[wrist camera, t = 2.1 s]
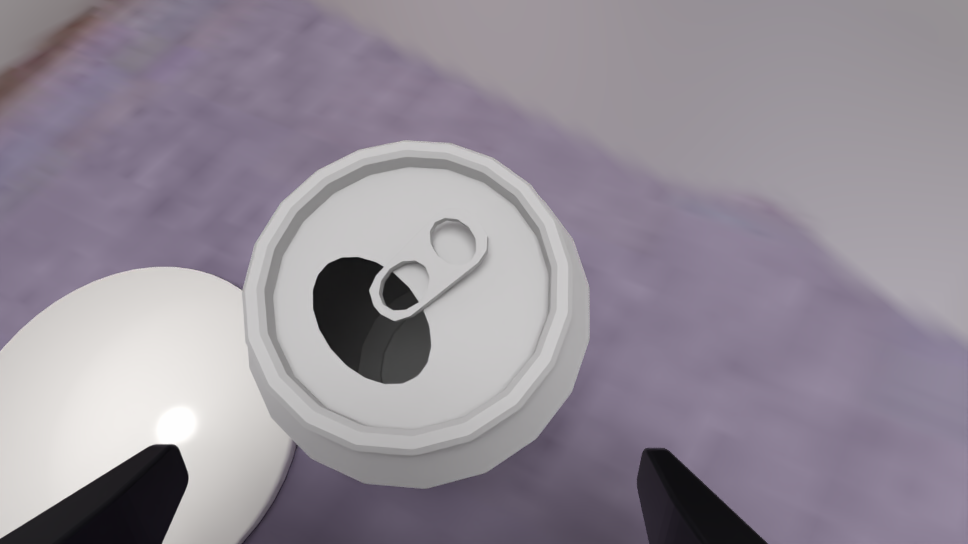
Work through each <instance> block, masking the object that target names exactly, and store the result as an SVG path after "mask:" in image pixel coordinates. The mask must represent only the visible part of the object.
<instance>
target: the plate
mask: <svg viewBox="0 0 968 544" xmlns="http://www.w3.org/2000/svg"><path fill="white" fill-rule="evenodd" d="M154 444H174V445H176V446H177V447H178V448H179V450H180V452H181V455H182V458H183V460H184V463H185V465H186V468H187V471H188V474H189V480H188V485H187V488H186V491H185V493H184V495H183V497H182V500H181V502H180V504H179V506H178V509H177V511H176V513H175V515H174V518H173V520H172V522H171V524H170V527H169V529H168V531H167V534H166V536H165V538H164V540H163V543H162V544H242V543H243V542H244V541H245V539H246V538H247V537H248V536H249V535H250V533H251V532H252V531H253V530H254V529H255V527H256V526H257V525H258V524H259V522H260V521H261V519H262V518H263V516H264V515H265V513H266V512H267V510H268V509H269V507H270V506H271V504H272V503H273V501H274V499H275V497H276V495H277V494H278V492H279V490H280V488H281V486H282V484H283V482H284V480H285V478H286V475H287V472H288V470H289V467H290V465H291V462H292V459H293V456H294V453H295V449H296V445H297V444H296V443H295V442H294V441H293V440H292V439H291V438H290V437H289V436H288V435H287V434H286V432H285V431H284V430H283V429H282V428H281V427H280V426H279V425H278V424H277V423H276V422H275V421H274V420H273V419H272V418H271V416H270V414H269V412H268V409H267V407H266V405H265V402H264V400H263V398H262V396H261V393H260V391H259V389H258V386H257V384H256V382H255V380H254V377H253V375H252V373H251V371H250V368H249V357H248V347H247V345H246V342H245V329H244V314H243V299H242V290H241V289H239V288H237V287H236V286H234V285H232V284H231V283H229V282H228V281H225V280H223V279H221V278H218V277H216V276H214V275H211V274H208V273H204V272H201V271H197V270H193V269H186V268H178V267H151V268H142V269H134V270H130V271H126V272H122V273H117V274H114V275H111V276H108V277H105V278H102V279H99V280H96V281H94V282H92V283H90V284H88V285H85V286H83V287H81V288H79V289H77V290H75V291H73V292H71V293H70V294H68V295H66V296H65V297H63V298H61V299H59V300H58V301H56V302H55V303H53V304H52V305H51V306H49V307H48V308H46V309H45V310H44V311H42V312H41V313H39V314H38V315H37V316H36V317H34V318H33V319H32V320H31V321H30V322H29V323H28V324H27V325H25V326H24V327H23V328H22V329H21V330H20V331H19V332H18V333H17V334H16V335H15V336H14V337H13V338H12V339H11V340H10V341H9V342H8V343H7V344H6V345H5V347H4V348H3V349H2V350H1V351H0V538H2V537H4V536H5V535H7V534H8V533H10V532H12V531H13V530H15V529H17V528H18V527H20V526H21V525H23V524H25V523H26V522H28V521H29V520H31V519H33V518H34V517H36V516H37V515H39V514H41V513H42V512H44V511H46V510H47V509H49V508H50V507H52V506H54V505H55V504H57V503H58V502H60V501H62V500H63V499H65V498H66V497H68V496H70V495H71V494H73V493H75V492H76V491H78V490H79V489H81V488H83V487H84V486H86V485H87V484H89V483H91V482H92V481H94V480H95V479H97V478H99V477H100V476H102V475H104V474H105V473H107V472H108V471H110V470H112V469H113V468H115V467H116V466H118V465H120V464H121V463H123V462H124V461H126V460H128V459H129V458H131V457H132V456H134V455H136V454H137V453H139V452H141V451H142V450H144V449H145V448H147V447H149V446H151V445H154Z"/></svg>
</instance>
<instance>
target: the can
mask: <svg viewBox="0 0 968 544" xmlns="http://www.w3.org/2000/svg"><path fill="white" fill-rule="evenodd" d="M242 299H243V314H244V329H245V342H246V345H247V347H248V357H249V368H250V371H251V373H252V375H253V377H254V380H255V382H256V384H257V386H258V389H259V391H260V393H261V396H262V398H263V400H264V402H265V405H266V407H267V409H268V412H269V414H270V416H271V418H272V419H273V420H274V421H275V422H276V423H277V424H278V425H279V426H280V427H281V428H282V429H283V430H284V431H285V432H286V434H287V435H288V436H289V437H290V438H291V439H292V440H293V441H294V442H295V443H296V444H297V445H298V446H299V447H300V448H301V449H302V450H303V451H304V452H305V453H306V454H307V455H308V456H309V457H310V458H311V459H313V460H315V461H317V462H319V463H321V464H323V465H326V466H328V467H330V468H332V469H334V470H336V471H338V472H341V473H343V474H345V475H347V476H349V477H351V478H353V479H356V480H358V481H360V482H362V483H364V484H373V485H385V486H397V487H410V488H422V489H427V488H431V487H435V486H438V485H442V484H446V483H450V482H453V481H457V480H461V479H465V478H469V477H472V476H476V475H480V474H484V473H486V472H488V471H489V470H491V469H492V468H494V467H495V466H497V465H498V464H500V463H501V462H503V461H504V460H506V459H507V458H509V457H510V456H512V455H513V454H515V453H516V452H518V451H519V450H520V449H522V448H523V447H525V446H526V445H528V444H529V443H531V442H532V441H534V440H535V439H537V437H538V436H539V435H540V433H541V432H542V431H543V429H544V428H545V427H546V425H547V424H548V423H549V421H550V420H551V419H552V418H553V416H554V415H555V414H556V412H557V411H558V410H559V408H560V407H561V406H562V404H563V403H564V402H565V400H566V399H567V398H568V396H569V395H570V394H571V393H572V390H573V387H574V384H575V381H576V378H577V375H578V372H579V369H580V366H581V363H582V360H583V357H584V354H585V351H586V348H587V345H588V342H589V285H588V282H587V279H586V276H585V273H584V270H583V267H582V264H581V261H580V258H579V255H578V252H577V249H576V246H575V243H574V240H573V239H572V237H571V236H570V235H569V233H568V232H567V231H566V229H565V228H564V227H563V225H562V224H561V223H560V221H559V220H558V219H557V217H556V216H555V215H554V213H553V212H552V211H551V209H550V208H549V207H548V205H547V204H546V203H545V201H544V200H542V199H541V198H540V197H539V195H538V194H537V193H536V191H535V190H534V189H533V187H532V186H531V184H529V183H528V182H526V181H525V180H524V179H522V178H521V177H519V176H518V175H517V174H515V173H514V172H512V171H511V170H510V169H508V168H507V167H505V166H504V165H503V164H501V163H500V162H498V161H497V160H496V159H494V158H492V157H489V156H486V155H483V154H481V153H478V152H475V151H472V150H469V149H466V148H463V147H460V146H458V145H455V144H452V143H440V142H424V141H408V140H404V141H399V142H394V143H389V144H385V145H380V146H375V147H370V148H365V149H360V150H358V151H356V152H354V153H352V154H350V155H348V156H346V157H344V158H341V159H339V160H337V161H335V162H333V163H331V164H329V165H327V166H325V167H323V168H321V169H319V170H317V171H316V172H315V173H314V174H313V175H312V176H310V177H309V178H308V179H307V180H306V181H305V182H304V183H303V184H301V185H300V186H299V187H298V188H297V189H296V190H295V191H294V192H292V193H291V194H290V195H289V196H288V197H287V198H286V199H285V200H283V201H282V202H281V203H280V205H279V206H278V208H277V210H276V211H275V213H274V214H273V216H272V218H271V219H270V221H269V222H268V224H267V226H266V227H265V229H264V230H263V232H262V233H261V235H260V237H259V238H258V240H257V241H256V243H255V245H254V249H253V253H252V256H251V260H250V264H249V268H248V271H247V275H246V279H245V283H244V286H243V290H242Z"/></svg>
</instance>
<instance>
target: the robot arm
mask: <svg viewBox="0 0 968 544" xmlns="http://www.w3.org/2000/svg"><path fill="white" fill-rule="evenodd" d="M188 480H189V474H188V471H187V468H186V465H185V463H184V460H183V458H182V455H181V452H180V450H179V448H178V447H177V446H176V445H174V444H154V445H151V446H149V447H147V448H145V449H144V450H142V451H141V452H139V453H137V454H136V455H134V456H132V457H131V458H129V459H128V460H126V461H124V462H123V463H121V464H120V465H118V466H116V467H115V468H113V469H112V470H110V471H108V472H107V473H105V474H104V475H102V476H100V477H99V478H97V479H95V480H94V481H92V482H91V483H89V484H87V485H86V486H84V487H83V488H81V489H79V490H78V491H76V492H75V493H73V494H71V495H70V496H68V497H66V498H65V499H63V500H62V501H60V502H58V503H57V504H55V505H54V506H52V507H50V508H49V509H47V510H46V511H44V512H42V513H41V514H39V515H37V516H36V517H34V518H33V519H31V520H29V521H28V522H26V523H25V524H23V525H21V526H20V527H18V528H17V529H15V530H13V531H12V532H10V533H8V534H7V535H5V536H4V537H2V538H0V544H162V543H163V540H164V538H165V536H166V534H167V531H168V529H169V527H170V524H171V522H172V520H173V518H174V515H175V513H176V511H177V509H178V506H179V504H180V502H181V500H182V497H183V495H184V493H185V491H186V488H187V485H188ZM637 489H638V494H639V499H640V503H641V508H642V512H643V517H644V521H645V526H646V531H647V535H648V540H649V544H768V543H767V542H766V541H765V540H763V539H762V538H761V537H760V536H759V535H758V534H757V533H756V532H755V531H754V530H753V529H752V528H751V527H750V526H749V525H747V524H746V523H745V522H744V521H743V520H742V519H741V518H740V517H739V516H738V515H737V514H736V513H735V512H734V511H733V510H732V509H730V508H729V507H728V506H727V505H726V504H725V503H724V502H723V501H722V500H721V499H720V498H719V497H718V496H717V495H716V494H715V493H713V492H712V491H711V490H710V489H709V488H708V487H707V486H706V485H705V484H704V483H703V482H702V481H701V480H700V479H699V478H698V477H696V476H695V475H694V474H693V473H692V472H691V471H690V470H689V469H688V468H687V467H686V466H685V465H684V464H683V463H682V462H680V461H679V460H678V459H677V458H676V457H675V456H674V455H673V454H672V453H671V452H670V451H669V450H667V449H665V448H645V449H644V450H643V452H642V457H641V461H640V466H639V471H638V476H637Z"/></svg>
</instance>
